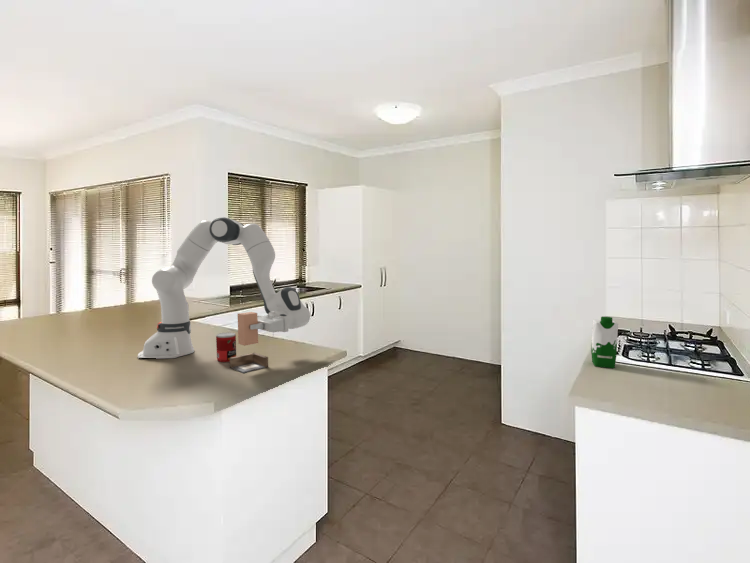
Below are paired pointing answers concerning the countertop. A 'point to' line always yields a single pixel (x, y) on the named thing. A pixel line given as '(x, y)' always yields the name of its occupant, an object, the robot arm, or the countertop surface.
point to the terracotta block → (247, 328)
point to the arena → (248, 362)
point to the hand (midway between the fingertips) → (245, 326)
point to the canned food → (225, 346)
